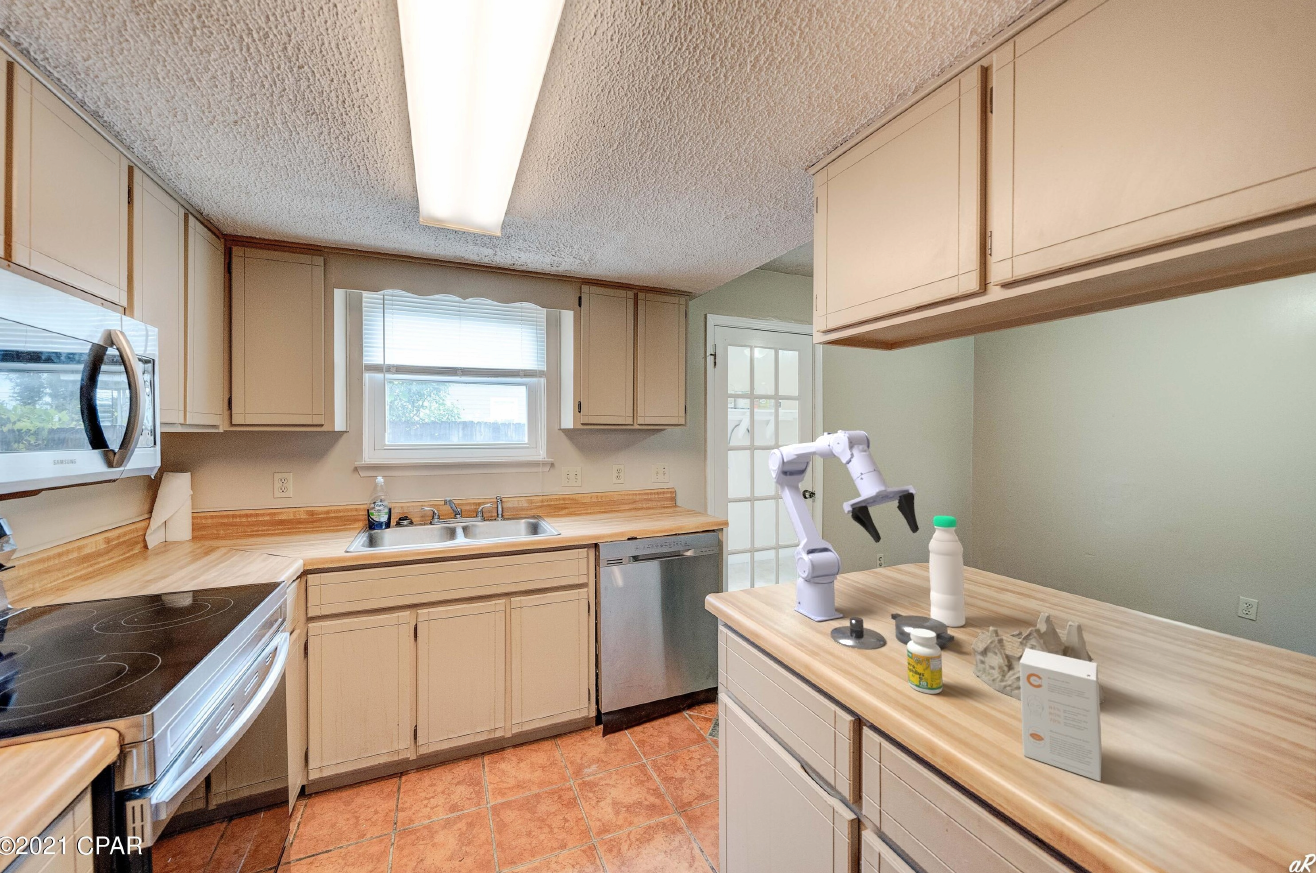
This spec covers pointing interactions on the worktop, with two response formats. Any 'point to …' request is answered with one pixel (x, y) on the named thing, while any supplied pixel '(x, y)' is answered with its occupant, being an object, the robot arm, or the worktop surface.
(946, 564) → the water bottle
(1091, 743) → the small box
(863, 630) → the lid
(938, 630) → the pot
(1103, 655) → the worktop surface
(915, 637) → the supplement bottle
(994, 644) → the ceramic cottage
